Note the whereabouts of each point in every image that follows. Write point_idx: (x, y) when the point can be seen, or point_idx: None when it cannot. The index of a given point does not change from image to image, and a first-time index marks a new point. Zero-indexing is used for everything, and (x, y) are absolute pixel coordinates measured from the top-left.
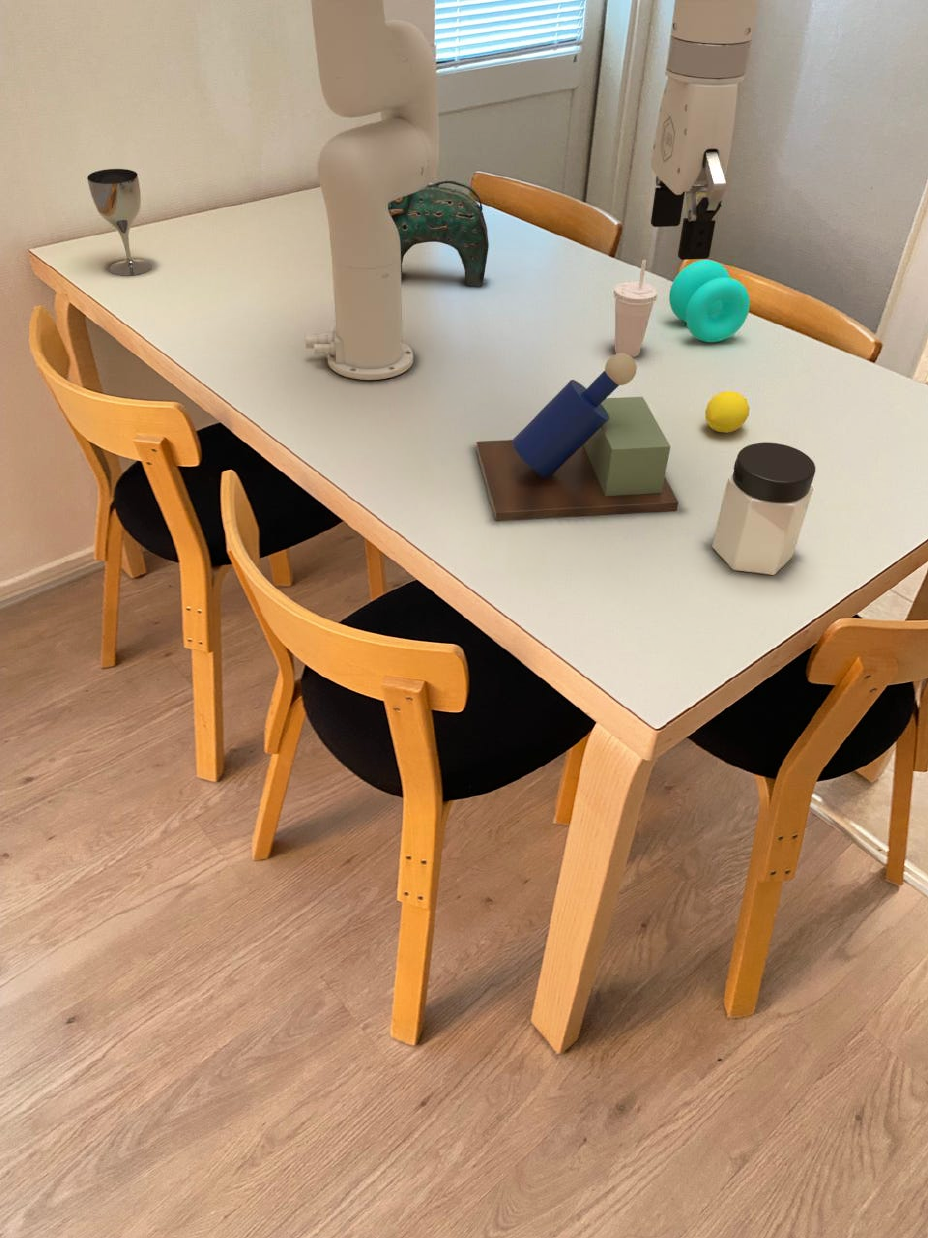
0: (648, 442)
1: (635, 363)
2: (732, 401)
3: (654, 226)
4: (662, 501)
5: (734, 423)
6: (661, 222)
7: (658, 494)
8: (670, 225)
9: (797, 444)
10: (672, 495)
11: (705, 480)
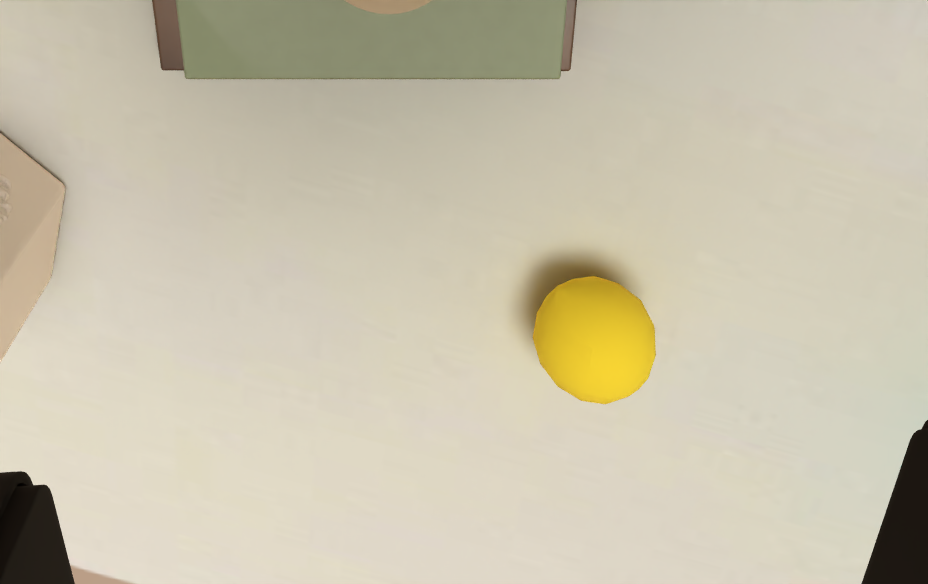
0: (212, 2)
1: (362, 4)
2: (577, 364)
3: (925, 426)
4: (162, 19)
5: (535, 341)
6: (915, 503)
7: None
8: (875, 552)
9: (479, 455)
10: None
11: (328, 191)
